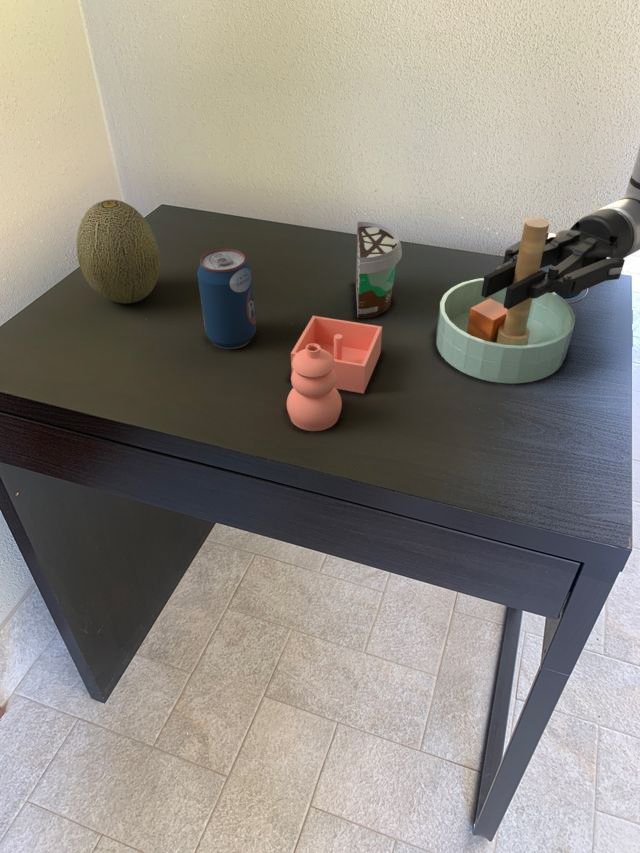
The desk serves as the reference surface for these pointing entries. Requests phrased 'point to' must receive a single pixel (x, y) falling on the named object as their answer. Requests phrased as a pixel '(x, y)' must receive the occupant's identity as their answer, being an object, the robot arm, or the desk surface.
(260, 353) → the desk surface
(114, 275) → the fruit
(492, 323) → the block
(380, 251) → the food container
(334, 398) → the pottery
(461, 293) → the bowl
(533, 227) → the pestle
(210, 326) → the soda can
